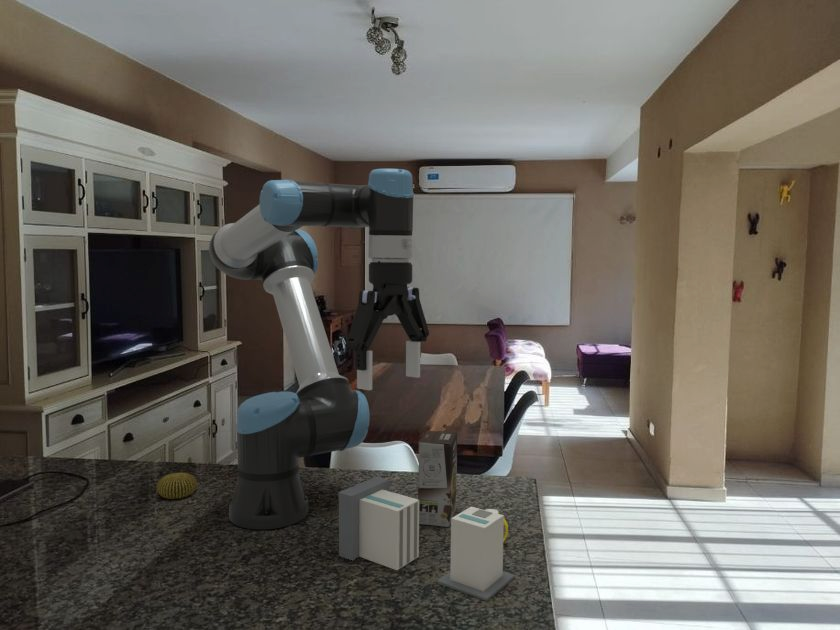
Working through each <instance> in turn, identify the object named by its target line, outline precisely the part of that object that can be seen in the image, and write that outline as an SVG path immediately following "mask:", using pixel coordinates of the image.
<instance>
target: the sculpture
mask: <svg viewBox="0 0 840 630" xmlns="http://www.w3.org/2000/svg"><path fill="white" fill-rule="evenodd" d="M197 486H198V482H197V479H196V477H195V476H194V475H192V474H190V473H187V472H173V473H169V474H166V475H164V476H162V477H161V478H160V479H158V482H157V483H156V491H157V493H158V495H159V496H161V497H162V498H165V499H169V500H176V499H177V500H178V499H183V498H186V497H189V496H190V495H192V494H193V493H195V491H196V489H197Z"/></svg>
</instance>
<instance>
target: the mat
mask: <svg viewBox="0 0 840 630" xmlns="http://www.w3.org/2000/svg"><path fill="white" fill-rule="evenodd" d="M515 578H516V575H515V574H513V573H510V572H509V571H504V570H503V574H502V577H501V578H499V579H498V580H497V581H496V582H494V583H493V584H492V585H491V586H489V587H488V588H487V589H486V590H485V591H481V590H478V589H475V588H472V587H469V586H467V585H464V584H461V583H458V582H455V581H452V580H450V571H448V572H447V573H446V574H444V575H443V576H442V577H440V578H439V579H437V580H436V583H437V584H439V585H441V586H444V587H447V588H449V589H452V590H456V591H458V592H459V593H460V592H461V593H462V594H466V595H469V596H471V597H473V598H476V599H479V600H483V601H484V602H488V601H489V600H490V599H492V598H493V597H494V596H495V595H496V594H498V592H500V591H501V590H502V589H503V588H504V587H506V586H507V585H508V584H509V583H510V582H512V581H513V580H514V579H515Z"/></svg>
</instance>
